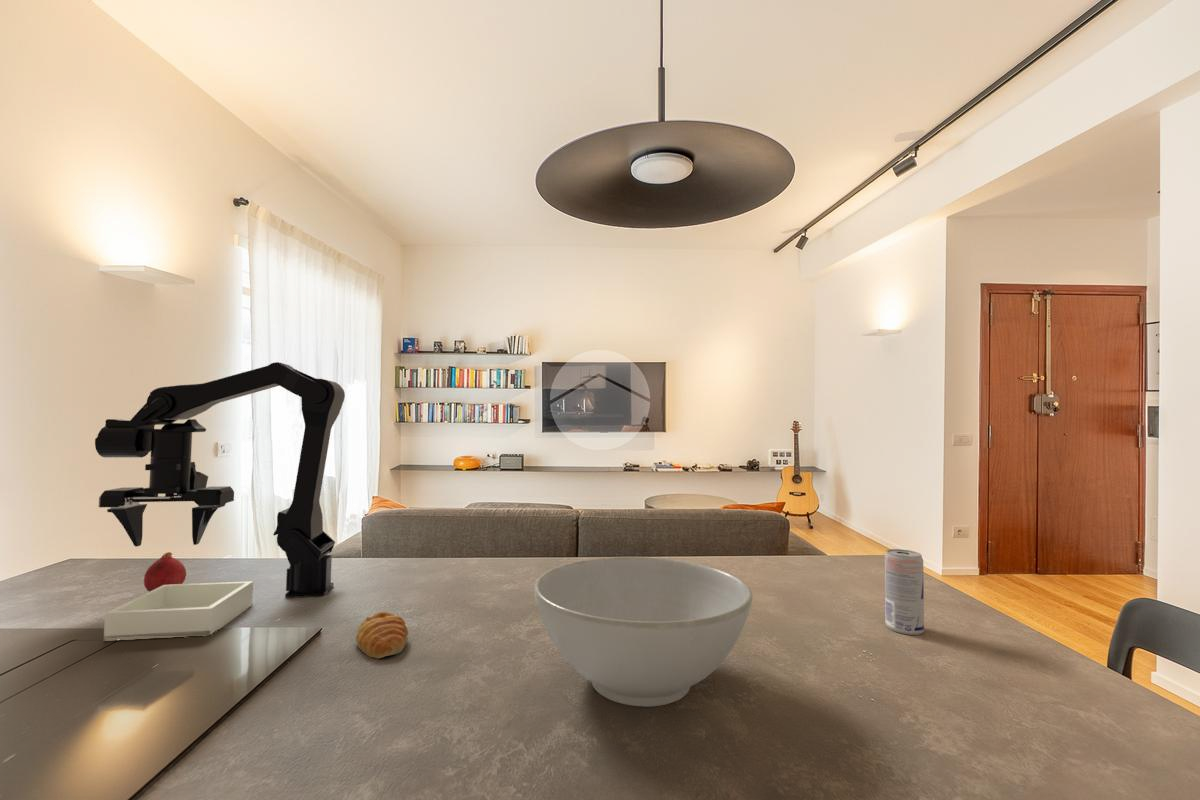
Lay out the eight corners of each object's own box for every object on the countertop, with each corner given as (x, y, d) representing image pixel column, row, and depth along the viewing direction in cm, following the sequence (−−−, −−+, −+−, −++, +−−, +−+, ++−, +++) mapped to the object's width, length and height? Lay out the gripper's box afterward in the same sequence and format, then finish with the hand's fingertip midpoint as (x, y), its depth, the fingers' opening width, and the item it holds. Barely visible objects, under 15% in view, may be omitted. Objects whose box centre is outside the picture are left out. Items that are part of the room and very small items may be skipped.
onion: (166, 603, 92) (168, 556, 92) (133, 603, 92) (136, 556, 92) (192, 593, 98) (194, 548, 98) (162, 592, 98) (164, 548, 98)
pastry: (416, 655, 74) (416, 627, 74) (363, 667, 70) (364, 637, 70) (401, 632, 81) (401, 606, 82) (352, 641, 78) (353, 615, 78)
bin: (252, 604, 92) (253, 581, 92) (210, 636, 78) (211, 608, 79) (162, 608, 89) (164, 584, 89) (103, 641, 76) (105, 613, 76)
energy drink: (921, 626, 86) (920, 551, 87) (926, 638, 81) (925, 558, 82) (884, 620, 88) (883, 547, 89) (886, 632, 83) (885, 554, 84)
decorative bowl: (547, 635, 80) (548, 554, 81) (726, 640, 79) (726, 558, 80) (512, 741, 54) (515, 619, 54) (782, 750, 53) (782, 626, 53)
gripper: (249, 454, 106) (246, 534, 105) (141, 454, 102) (137, 537, 101) (220, 458, 95) (216, 547, 94) (98, 458, 91) (93, 551, 90)
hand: (167, 545), depth 95 cm, fingers open, 9 cm apart
